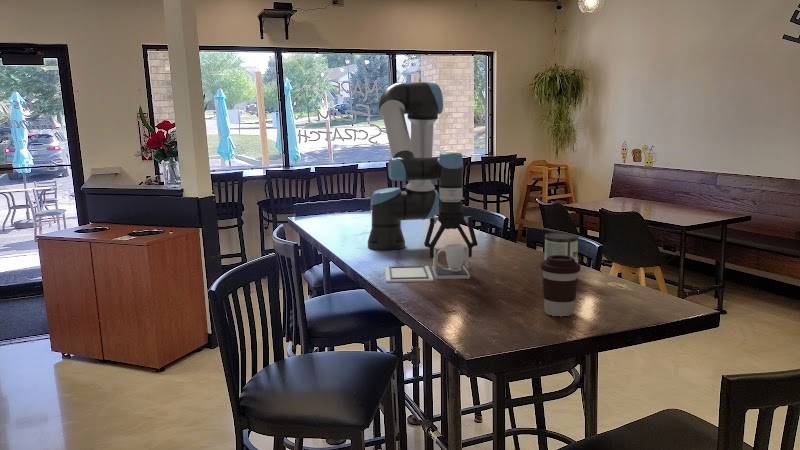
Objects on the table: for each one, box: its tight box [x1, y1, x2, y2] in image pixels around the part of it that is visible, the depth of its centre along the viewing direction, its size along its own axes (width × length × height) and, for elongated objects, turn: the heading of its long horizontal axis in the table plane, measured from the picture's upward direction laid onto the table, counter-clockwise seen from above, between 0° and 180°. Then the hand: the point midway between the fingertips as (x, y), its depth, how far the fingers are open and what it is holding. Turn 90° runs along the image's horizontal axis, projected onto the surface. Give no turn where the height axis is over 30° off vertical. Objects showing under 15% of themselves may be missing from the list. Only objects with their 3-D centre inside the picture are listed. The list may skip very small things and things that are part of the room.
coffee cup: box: [540, 255, 581, 318], centre depth 157 cm, size 10×10×15 cm
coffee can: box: [544, 232, 579, 263], centre depth 191 cm, size 10×10×14 cm
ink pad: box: [431, 265, 471, 280], centre depth 199 cm, size 13×11×1 cm
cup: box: [436, 243, 466, 271], centre depth 198 cm, size 7×10×8 cm
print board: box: [384, 265, 434, 283], centre depth 199 cm, size 18×15×1 cm
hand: (450, 267), depth 199 cm, fingers closed on cup, 10 cm apart
